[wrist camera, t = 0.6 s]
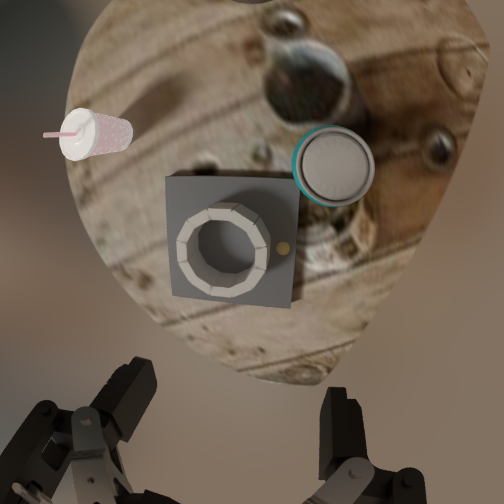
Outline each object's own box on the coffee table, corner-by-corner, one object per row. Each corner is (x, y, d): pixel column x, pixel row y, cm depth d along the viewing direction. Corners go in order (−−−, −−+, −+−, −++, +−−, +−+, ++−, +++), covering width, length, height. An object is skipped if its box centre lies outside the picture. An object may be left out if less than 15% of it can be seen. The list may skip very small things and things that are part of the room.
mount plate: (170, 175, 34) (149, 179, 29) (300, 178, 32) (300, 183, 27) (176, 290, 39) (160, 309, 34) (290, 302, 37) (289, 325, 32)
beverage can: (352, 159, 30) (395, 160, 16) (323, 197, 32) (345, 228, 18) (311, 129, 30) (324, 104, 16) (283, 168, 32) (273, 175, 18)
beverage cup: (100, 155, 34) (26, 165, 21) (105, 114, 32) (31, 108, 19) (135, 157, 34) (60, 166, 21) (140, 113, 32) (67, 101, 19)
